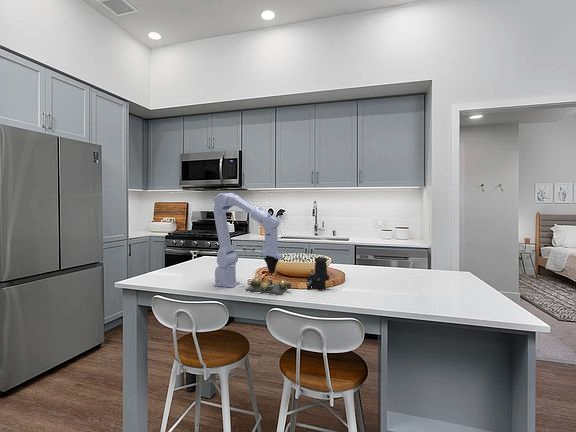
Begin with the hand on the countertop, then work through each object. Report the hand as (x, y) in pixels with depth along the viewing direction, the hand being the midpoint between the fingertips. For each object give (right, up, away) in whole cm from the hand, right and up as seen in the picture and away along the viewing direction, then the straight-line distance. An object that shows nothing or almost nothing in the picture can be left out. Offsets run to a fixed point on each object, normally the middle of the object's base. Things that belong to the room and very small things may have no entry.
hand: (271, 272), depth 148 cm
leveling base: (-2, -8, +1) cm, 8 cm away
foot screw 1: (-8, -6, +3) cm, 10 cm away
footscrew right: (-2, -6, 0) cm, 7 cm away
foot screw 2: (+6, -6, -1) cm, 9 cm away
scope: (+21, -8, +1) cm, 23 cm away
